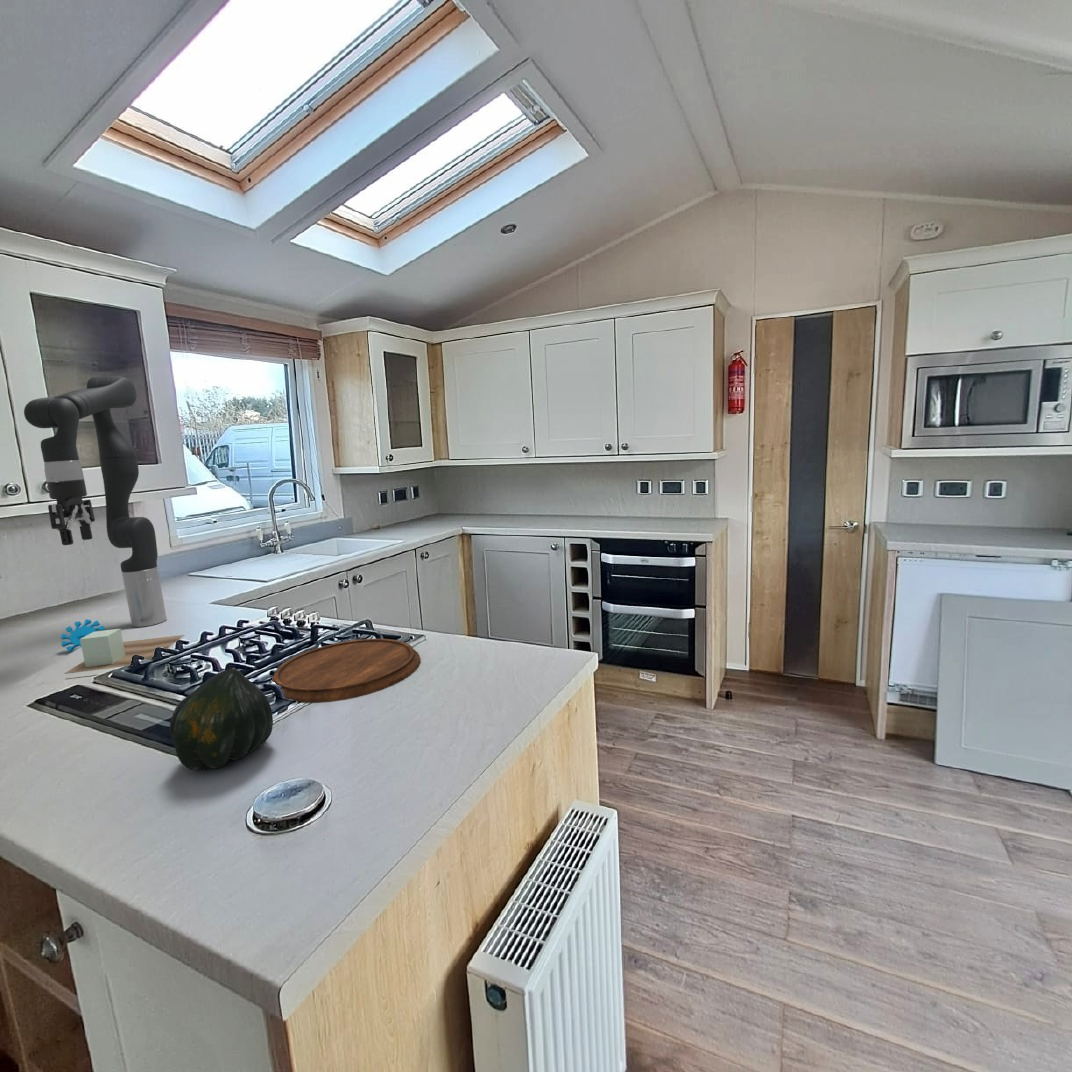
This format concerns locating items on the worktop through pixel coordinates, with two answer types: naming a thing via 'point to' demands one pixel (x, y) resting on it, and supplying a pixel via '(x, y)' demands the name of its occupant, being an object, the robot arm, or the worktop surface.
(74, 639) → the gear
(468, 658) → the worktop surface
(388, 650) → the cutting board
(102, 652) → the pale green block
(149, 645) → the board
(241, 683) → the squash
